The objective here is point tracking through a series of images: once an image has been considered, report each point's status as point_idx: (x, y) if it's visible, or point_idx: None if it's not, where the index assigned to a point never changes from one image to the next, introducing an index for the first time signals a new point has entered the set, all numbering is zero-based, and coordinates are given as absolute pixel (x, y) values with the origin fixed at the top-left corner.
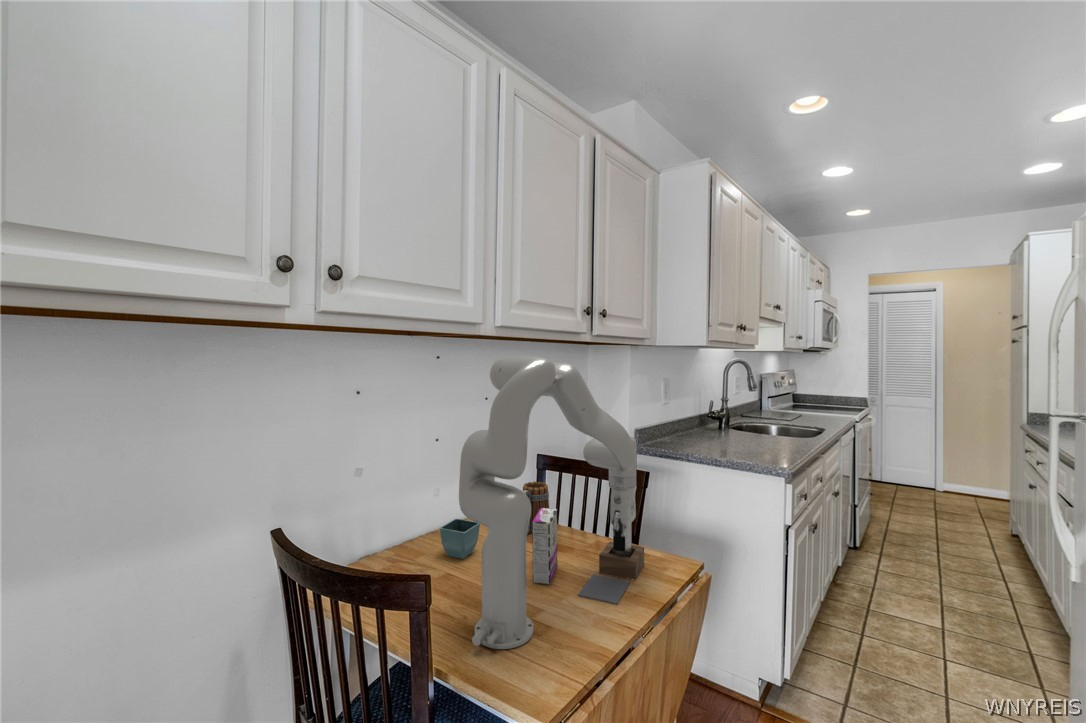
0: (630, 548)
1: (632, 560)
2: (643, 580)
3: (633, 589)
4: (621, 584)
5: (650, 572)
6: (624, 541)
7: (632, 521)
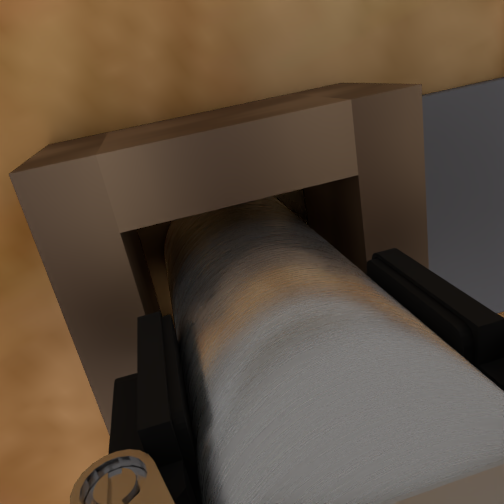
0: (281, 238)
1: (413, 123)
2: (310, 28)
3: (467, 36)
4: (465, 130)
5: (143, 34)
6: (460, 294)
7: (431, 491)
